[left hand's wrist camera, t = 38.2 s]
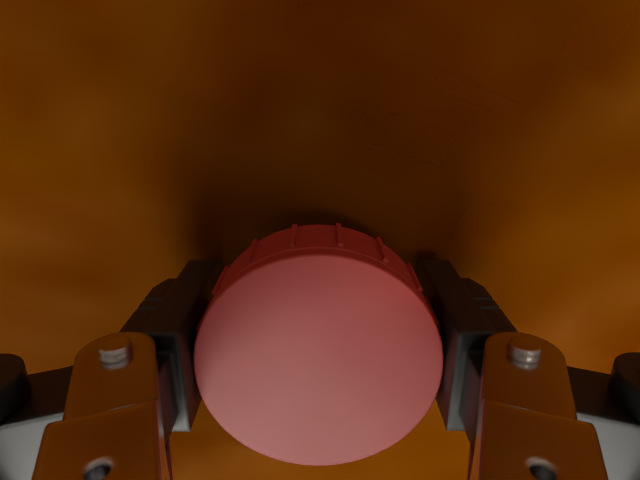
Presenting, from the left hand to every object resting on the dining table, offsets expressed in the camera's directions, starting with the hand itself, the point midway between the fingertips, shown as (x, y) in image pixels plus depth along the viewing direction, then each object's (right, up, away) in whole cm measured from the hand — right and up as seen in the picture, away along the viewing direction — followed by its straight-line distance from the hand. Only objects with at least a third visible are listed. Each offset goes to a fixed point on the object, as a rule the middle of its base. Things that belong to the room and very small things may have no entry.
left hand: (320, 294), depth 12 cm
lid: (0, -1, -2) cm, 3 cm away
